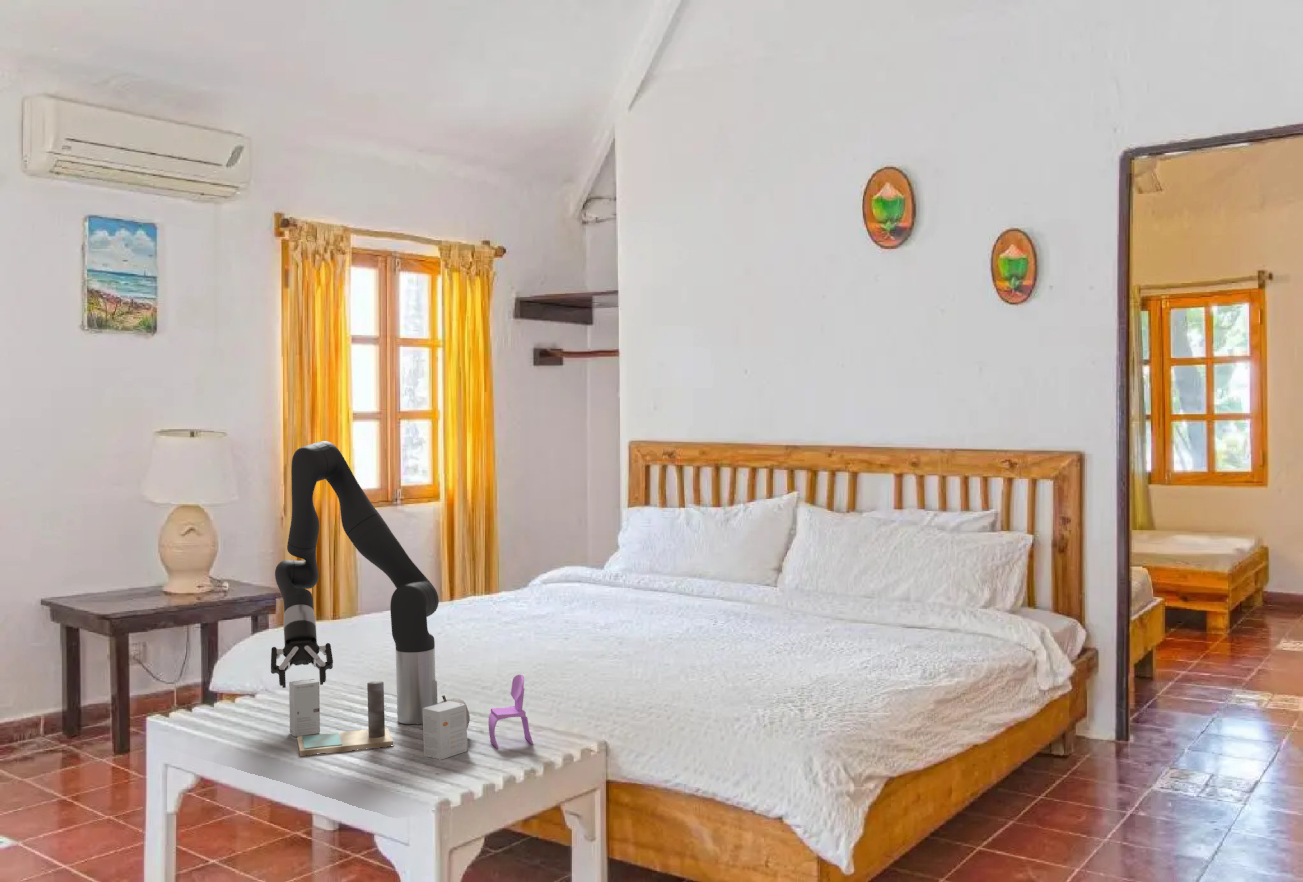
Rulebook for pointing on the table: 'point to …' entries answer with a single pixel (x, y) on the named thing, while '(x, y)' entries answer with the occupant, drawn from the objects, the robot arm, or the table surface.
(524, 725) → the toy chair
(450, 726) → the small box
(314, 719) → the skincare box
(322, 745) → the board
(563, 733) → the table surface
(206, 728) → the table surface
